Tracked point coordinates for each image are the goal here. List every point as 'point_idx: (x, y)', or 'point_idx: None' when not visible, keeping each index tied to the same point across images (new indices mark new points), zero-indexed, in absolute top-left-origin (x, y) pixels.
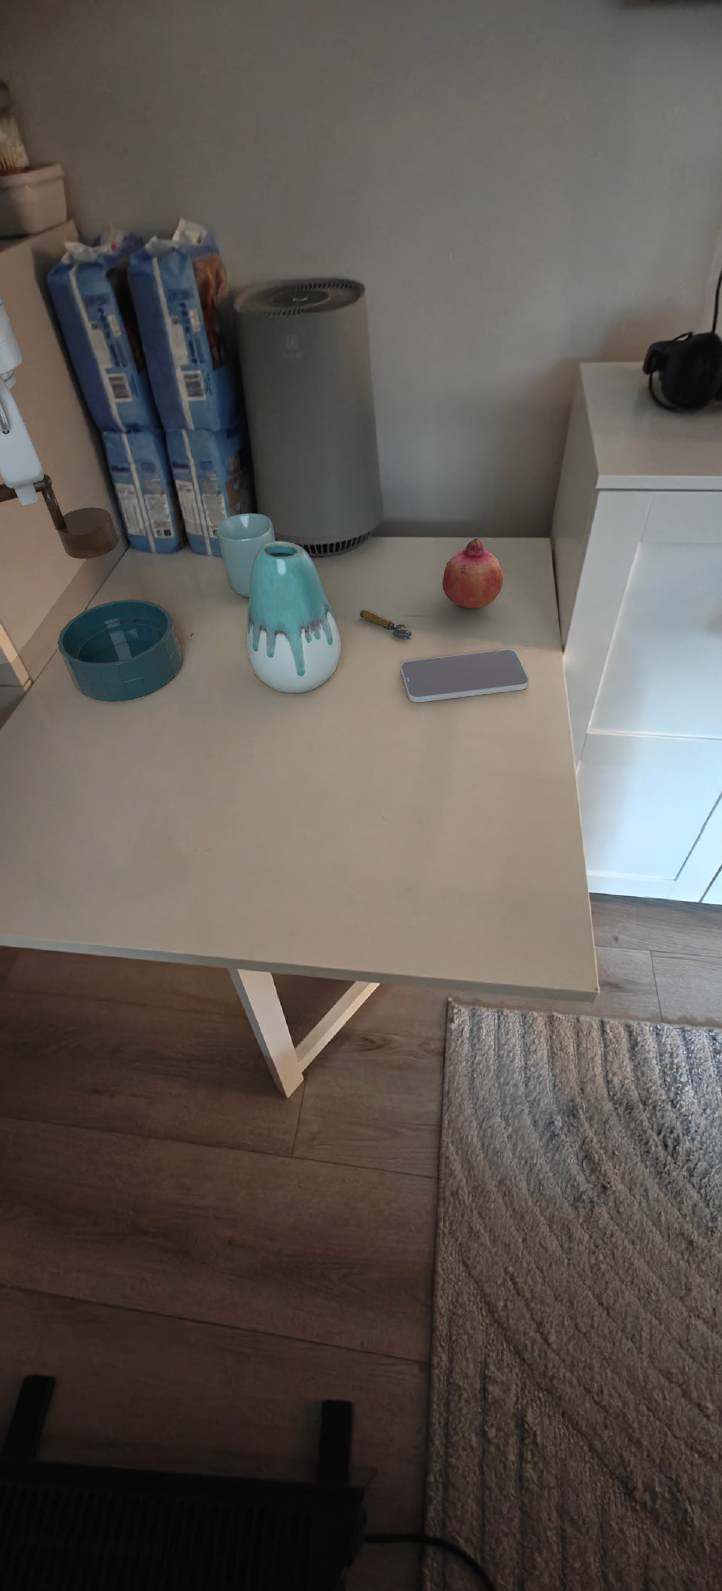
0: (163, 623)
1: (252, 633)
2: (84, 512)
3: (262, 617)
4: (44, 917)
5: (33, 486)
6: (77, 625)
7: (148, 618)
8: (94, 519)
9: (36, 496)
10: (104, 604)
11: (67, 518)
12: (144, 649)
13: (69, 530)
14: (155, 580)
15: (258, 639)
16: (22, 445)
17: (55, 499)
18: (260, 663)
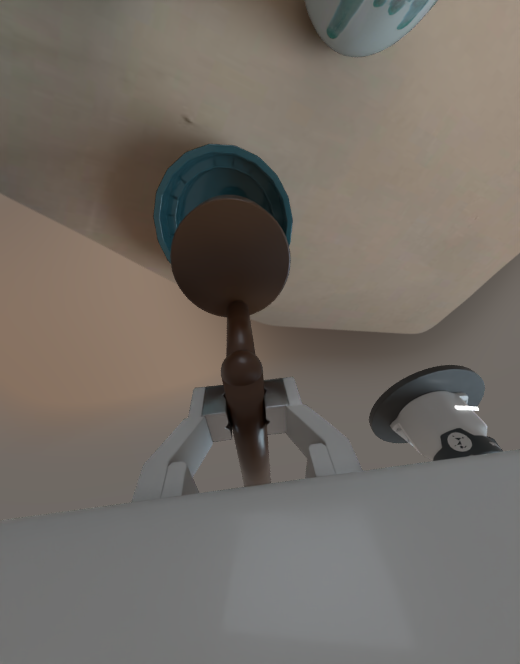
0: (201, 158)
1: (410, 6)
2: (195, 257)
3: None
4: (431, 321)
5: (299, 399)
6: None
7: (177, 176)
8: (241, 242)
9: (294, 382)
10: (158, 231)
11: (208, 294)
12: (203, 196)
13: (262, 297)
14: (17, 128)
15: (425, 2)
16: None
17: (246, 332)
18: (402, 35)
